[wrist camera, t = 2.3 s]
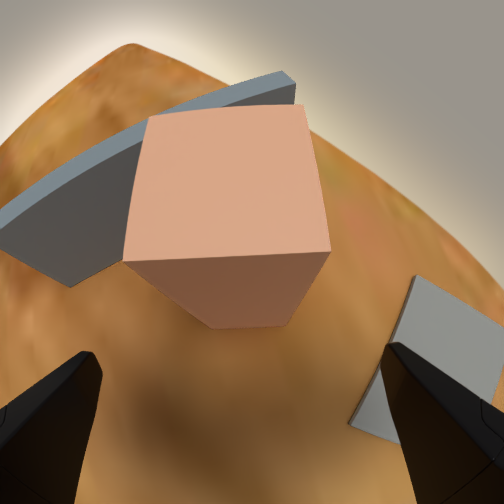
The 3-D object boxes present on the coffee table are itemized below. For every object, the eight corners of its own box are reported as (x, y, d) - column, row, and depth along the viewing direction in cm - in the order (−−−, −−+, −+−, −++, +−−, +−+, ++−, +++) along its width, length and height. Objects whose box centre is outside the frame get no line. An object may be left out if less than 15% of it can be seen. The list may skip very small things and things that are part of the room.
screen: (70, 287, 21) (-14, 240, 12) (66, 272, 22) (-13, 220, 12) (285, 180, 24) (296, 83, 15) (276, 167, 24) (282, 70, 15)
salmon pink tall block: (285, 326, 20) (331, 251, 7) (211, 329, 20) (122, 261, 7) (280, 253, 22) (302, 100, 9) (211, 257, 22) (150, 111, 9)
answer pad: (459, 462, 15) (463, 463, 14) (348, 424, 17) (350, 425, 16) (507, 333, 18) (511, 332, 18) (413, 276, 21) (416, 274, 20)
